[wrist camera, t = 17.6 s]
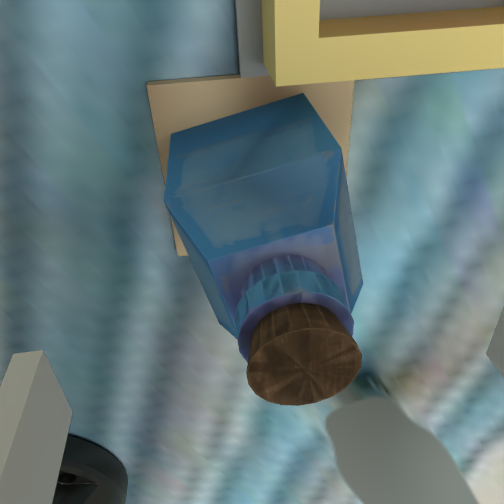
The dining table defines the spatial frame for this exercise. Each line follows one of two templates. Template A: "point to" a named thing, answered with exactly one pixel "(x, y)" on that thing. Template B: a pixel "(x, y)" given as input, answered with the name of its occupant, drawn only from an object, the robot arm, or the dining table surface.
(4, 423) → the robot arm
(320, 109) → the coaster
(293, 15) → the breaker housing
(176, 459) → the dining table surface
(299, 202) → the perfume bottle
